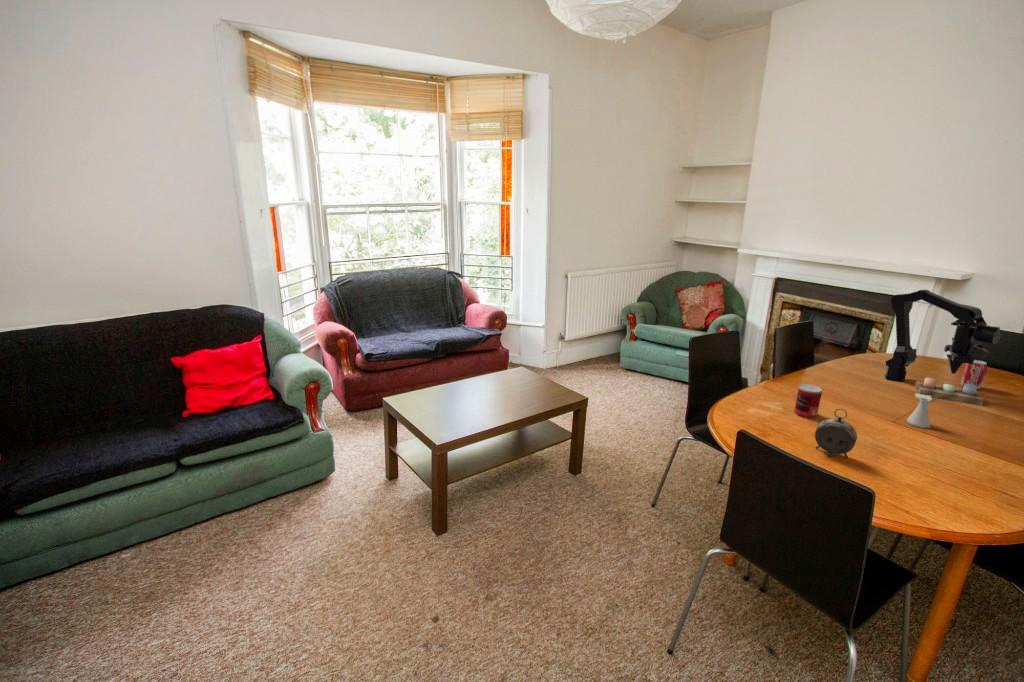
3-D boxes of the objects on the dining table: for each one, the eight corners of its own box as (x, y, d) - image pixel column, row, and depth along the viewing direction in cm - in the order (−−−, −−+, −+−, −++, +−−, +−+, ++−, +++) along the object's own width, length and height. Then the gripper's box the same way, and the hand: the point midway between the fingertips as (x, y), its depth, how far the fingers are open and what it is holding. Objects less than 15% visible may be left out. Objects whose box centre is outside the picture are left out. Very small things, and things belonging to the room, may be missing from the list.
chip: (916, 398, 203) (917, 397, 203) (915, 394, 208) (915, 393, 207) (932, 401, 201) (932, 399, 201) (930, 397, 205) (930, 395, 205)
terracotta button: (923, 388, 209) (925, 379, 208) (921, 386, 212) (924, 376, 211) (935, 390, 207) (937, 381, 206) (933, 387, 210) (936, 378, 209)
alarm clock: (852, 457, 157) (863, 411, 152) (849, 463, 153) (860, 416, 148) (813, 446, 163) (823, 401, 159) (810, 452, 160) (819, 406, 155)
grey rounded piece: (962, 395, 203) (965, 385, 202) (960, 392, 206) (963, 382, 205) (975, 397, 201) (978, 387, 200) (973, 394, 204) (976, 384, 203)
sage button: (941, 395, 206) (944, 386, 205) (939, 392, 210) (942, 383, 208) (954, 397, 204) (956, 388, 203) (951, 394, 208) (954, 385, 206)
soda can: (985, 390, 213) (993, 364, 210) (969, 390, 213) (977, 364, 210) (971, 384, 220) (978, 359, 216) (955, 384, 220) (962, 359, 216)
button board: (919, 394, 207) (920, 389, 206) (914, 386, 217) (916, 380, 216) (981, 405, 197) (983, 399, 197) (974, 395, 207) (975, 390, 206)
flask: (925, 421, 182) (932, 397, 179) (934, 430, 176) (941, 404, 173) (902, 418, 185) (909, 394, 182) (910, 426, 178) (917, 401, 175)
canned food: (815, 412, 189) (820, 385, 186) (818, 420, 182) (823, 393, 179) (793, 408, 192) (798, 382, 189) (794, 416, 185) (800, 389, 182)
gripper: (996, 346, 188) (984, 384, 193) (983, 335, 204) (972, 370, 208) (958, 341, 194) (948, 378, 198) (948, 331, 209) (939, 365, 214)
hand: (953, 373), depth 204 cm, fingers closed
